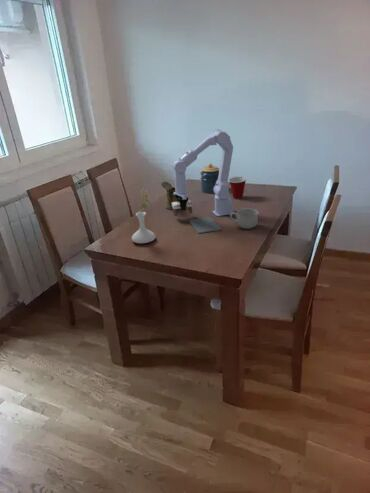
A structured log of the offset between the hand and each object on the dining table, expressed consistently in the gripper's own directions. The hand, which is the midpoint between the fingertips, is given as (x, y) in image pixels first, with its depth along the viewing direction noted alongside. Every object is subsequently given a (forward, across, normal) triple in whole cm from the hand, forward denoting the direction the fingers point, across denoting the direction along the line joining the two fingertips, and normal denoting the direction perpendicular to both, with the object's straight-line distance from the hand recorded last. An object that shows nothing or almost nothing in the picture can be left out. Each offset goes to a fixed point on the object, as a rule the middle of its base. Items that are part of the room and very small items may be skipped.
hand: (182, 208), depth 196 cm
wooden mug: (+6, -18, -2) cm, 19 cm away
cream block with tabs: (+3, 0, 0) cm, 3 cm away
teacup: (+6, +23, +26) cm, 35 cm away
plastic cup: (+6, -20, +40) cm, 45 cm away
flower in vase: (+6, +20, -24) cm, 32 cm away
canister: (+6, -41, +30) cm, 51 cm away
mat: (+6, +14, +8) cm, 17 cm away
